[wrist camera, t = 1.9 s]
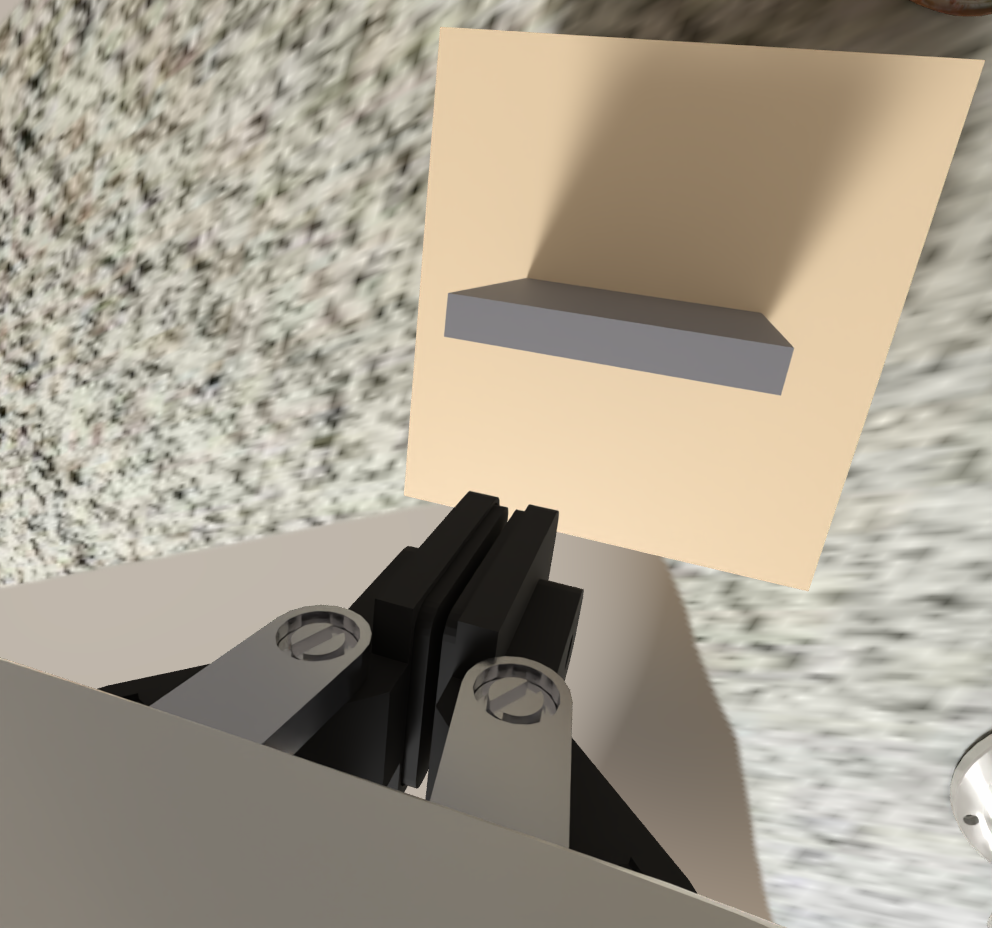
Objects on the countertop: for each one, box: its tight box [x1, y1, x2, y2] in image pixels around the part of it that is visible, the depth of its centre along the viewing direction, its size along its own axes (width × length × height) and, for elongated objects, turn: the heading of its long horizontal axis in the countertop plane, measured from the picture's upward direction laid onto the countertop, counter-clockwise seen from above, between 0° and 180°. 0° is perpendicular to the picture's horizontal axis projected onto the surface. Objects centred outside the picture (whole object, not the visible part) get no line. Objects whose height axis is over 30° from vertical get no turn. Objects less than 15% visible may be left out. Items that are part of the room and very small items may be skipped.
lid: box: [404, 27, 985, 591], centre depth 22 cm, size 19×18×10 cm
